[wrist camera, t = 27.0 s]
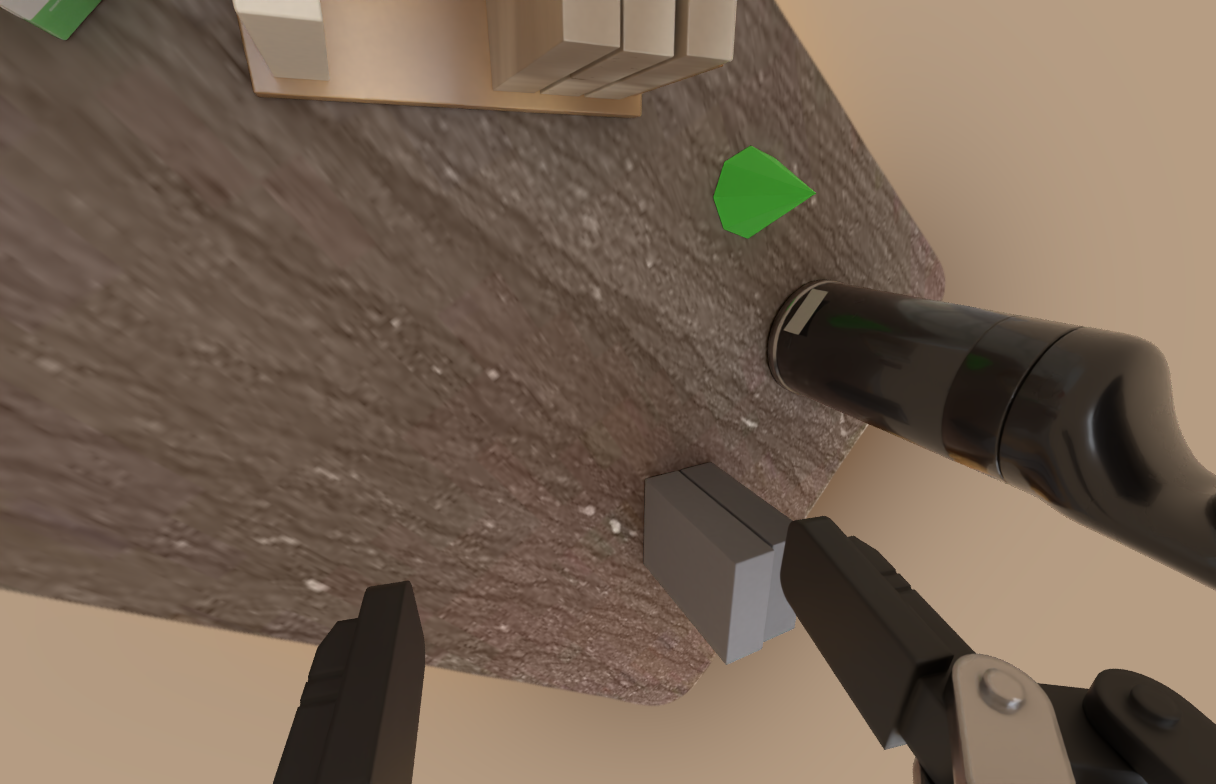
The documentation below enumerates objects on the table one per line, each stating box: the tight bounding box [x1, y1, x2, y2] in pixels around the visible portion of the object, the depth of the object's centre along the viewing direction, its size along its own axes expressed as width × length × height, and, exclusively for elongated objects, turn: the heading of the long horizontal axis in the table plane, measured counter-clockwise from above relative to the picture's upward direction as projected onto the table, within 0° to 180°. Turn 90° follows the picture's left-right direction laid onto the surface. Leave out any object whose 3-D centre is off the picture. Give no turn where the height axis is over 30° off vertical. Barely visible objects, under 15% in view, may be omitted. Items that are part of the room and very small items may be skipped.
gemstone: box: [713, 146, 816, 238], centre depth 33 cm, size 6×6×6 cm
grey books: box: [643, 462, 796, 665], centre depth 38 cm, size 6×8×11 cm
